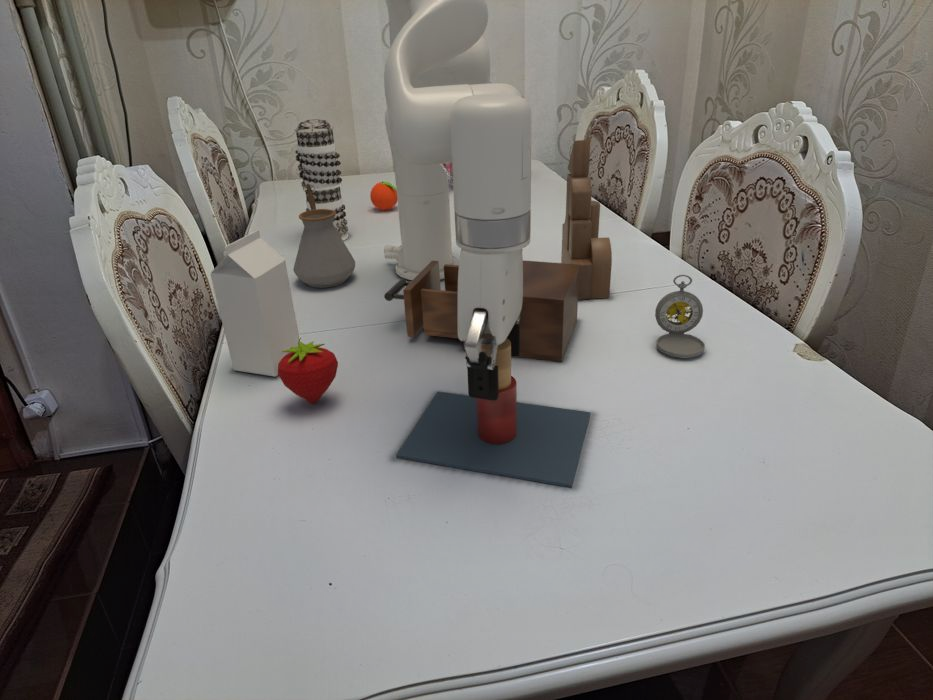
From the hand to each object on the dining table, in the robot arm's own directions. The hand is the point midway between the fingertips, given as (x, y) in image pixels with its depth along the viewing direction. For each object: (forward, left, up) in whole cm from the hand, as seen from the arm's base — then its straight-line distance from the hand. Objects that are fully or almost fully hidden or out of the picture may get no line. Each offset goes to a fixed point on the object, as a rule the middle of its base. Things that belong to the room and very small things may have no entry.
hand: (495, 374), depth 72 cm
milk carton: (-37, +9, -8) cm, 39 cm away
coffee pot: (-47, +44, -8) cm, 65 cm away
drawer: (-15, +26, -7) cm, 31 cm away
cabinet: (-3, +26, -8) cm, 27 cm away
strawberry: (-25, +1, -8) cm, 26 cm away
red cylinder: (0, 0, -8) cm, 8 cm away
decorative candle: (-56, +63, -8) cm, 85 cm away
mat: (0, 0, -8) cm, 8 cm away
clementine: (-52, +86, -8) cm, 101 cm away
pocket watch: (+20, +28, -8) cm, 35 cm away
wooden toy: (+3, +49, -8) cm, 50 cm away
